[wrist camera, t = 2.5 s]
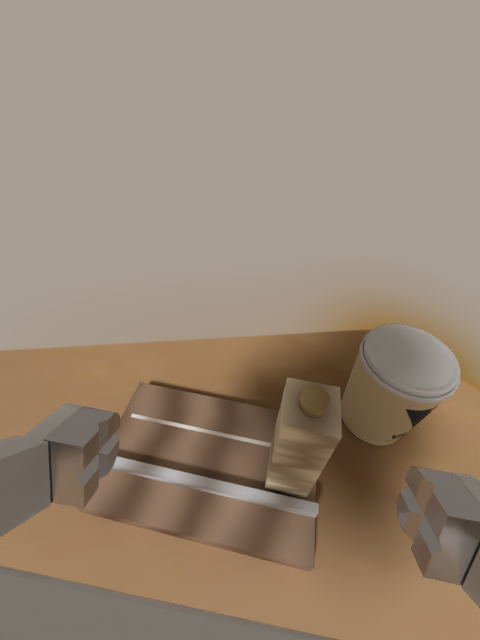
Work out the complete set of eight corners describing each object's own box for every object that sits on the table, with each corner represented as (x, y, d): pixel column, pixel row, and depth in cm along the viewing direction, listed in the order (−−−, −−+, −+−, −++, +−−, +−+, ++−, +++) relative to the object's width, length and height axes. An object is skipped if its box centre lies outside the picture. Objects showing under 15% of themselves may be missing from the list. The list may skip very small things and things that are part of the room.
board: (81, 512, 30) (69, 500, 28) (142, 391, 40) (137, 375, 37) (309, 571, 27) (317, 564, 25) (314, 426, 37) (320, 411, 35)
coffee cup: (392, 471, 34) (448, 416, 26) (319, 417, 38) (346, 355, 30) (421, 414, 39) (475, 352, 31) (353, 372, 43) (384, 309, 35)
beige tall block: (264, 489, 30) (283, 417, 20) (270, 442, 33) (290, 361, 24) (305, 499, 29) (346, 430, 20) (307, 450, 33) (343, 370, 23)
